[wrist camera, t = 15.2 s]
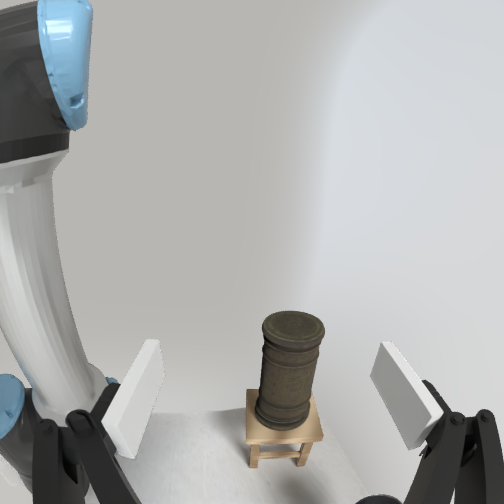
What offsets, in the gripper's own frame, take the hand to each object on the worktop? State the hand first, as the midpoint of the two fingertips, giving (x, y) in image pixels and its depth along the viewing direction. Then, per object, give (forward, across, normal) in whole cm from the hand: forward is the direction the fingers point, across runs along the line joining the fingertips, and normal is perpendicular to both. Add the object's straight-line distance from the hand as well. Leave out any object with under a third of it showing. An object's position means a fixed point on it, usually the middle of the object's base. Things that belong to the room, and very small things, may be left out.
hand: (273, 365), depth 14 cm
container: (+19, +5, -26) cm, 33 cm away
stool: (+19, +5, -38) cm, 43 cm away
